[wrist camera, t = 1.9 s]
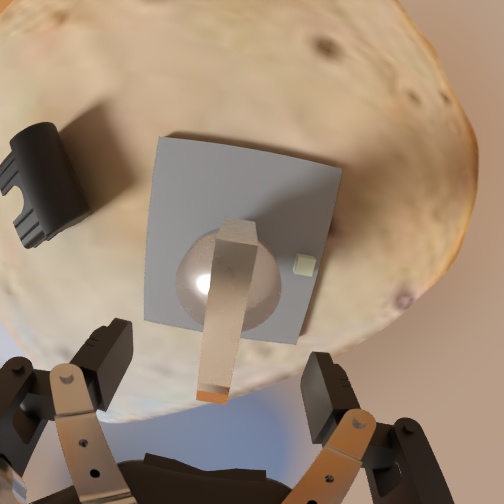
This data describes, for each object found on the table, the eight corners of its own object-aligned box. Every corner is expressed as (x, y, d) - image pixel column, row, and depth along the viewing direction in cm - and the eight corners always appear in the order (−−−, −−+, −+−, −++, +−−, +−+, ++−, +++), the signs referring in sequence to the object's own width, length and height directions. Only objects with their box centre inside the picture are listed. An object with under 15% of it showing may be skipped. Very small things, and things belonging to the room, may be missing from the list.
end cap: (105, 205, 25) (67, 220, 18) (61, 237, 26) (23, 257, 19) (69, 123, 22) (28, 118, 15) (29, 160, 23) (-12, 166, 16)
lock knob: (190, 203, 18) (158, 229, 12) (290, 221, 19) (314, 255, 12) (178, 328, 21) (155, 391, 15) (262, 341, 22) (267, 408, 15)
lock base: (162, 137, 23) (137, 131, 17) (338, 168, 24) (365, 171, 18) (147, 314, 28) (128, 348, 22) (294, 338, 29) (303, 376, 24)
